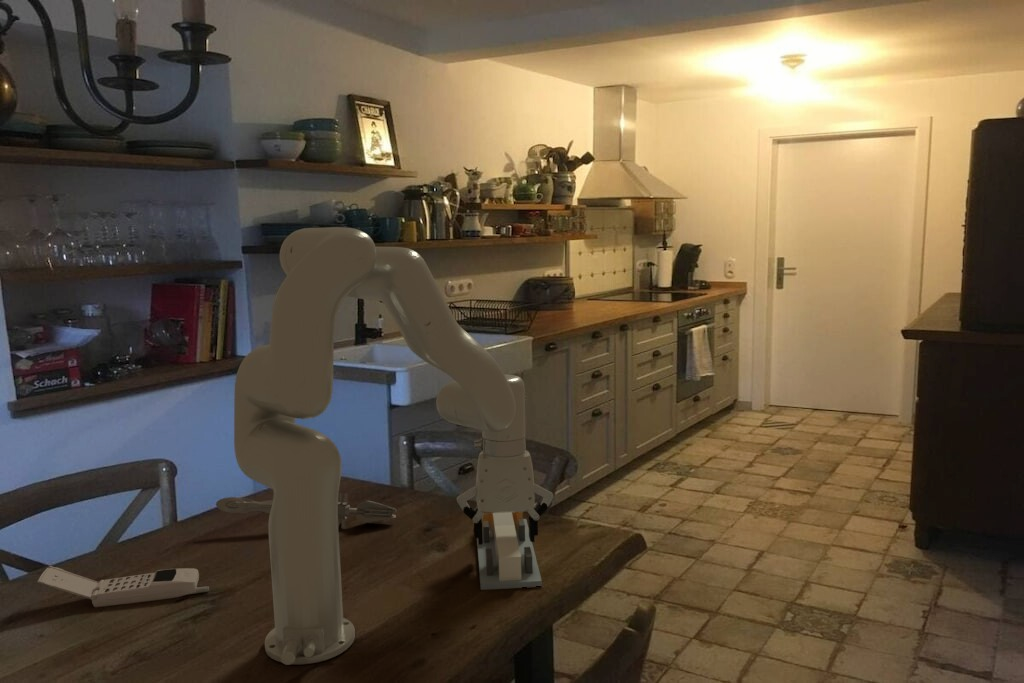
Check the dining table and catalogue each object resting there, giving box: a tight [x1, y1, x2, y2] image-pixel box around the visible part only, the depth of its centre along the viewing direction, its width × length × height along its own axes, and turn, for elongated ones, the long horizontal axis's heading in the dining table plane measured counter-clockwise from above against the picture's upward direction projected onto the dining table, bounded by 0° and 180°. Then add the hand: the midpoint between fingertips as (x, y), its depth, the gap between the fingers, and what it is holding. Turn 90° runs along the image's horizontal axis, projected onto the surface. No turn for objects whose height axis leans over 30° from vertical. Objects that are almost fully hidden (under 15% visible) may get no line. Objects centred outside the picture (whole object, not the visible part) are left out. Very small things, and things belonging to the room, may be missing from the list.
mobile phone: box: [37, 565, 210, 608], centre depth 132 cm, size 6×6×25 cm
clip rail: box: [476, 512, 543, 591], centre depth 146 cm, size 28×10×5 cm, turn 4°
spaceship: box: [215, 492, 397, 529], centre depth 161 cm, size 8×35×8 cm
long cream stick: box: [492, 512, 521, 581], centre depth 144 cm, size 22×4×4 cm, turn 4°
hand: (506, 540), depth 144 cm, fingers open, 8 cm apart
